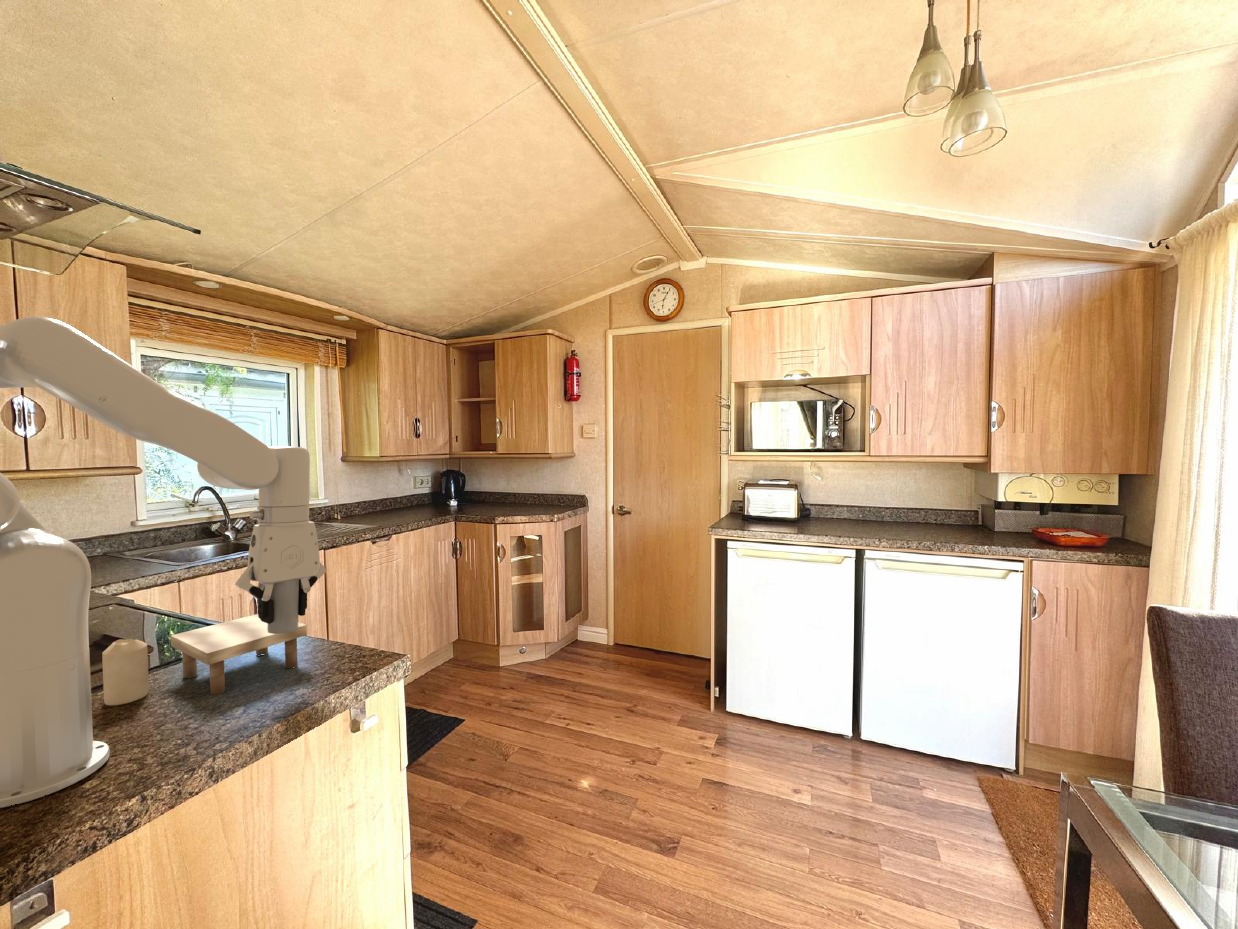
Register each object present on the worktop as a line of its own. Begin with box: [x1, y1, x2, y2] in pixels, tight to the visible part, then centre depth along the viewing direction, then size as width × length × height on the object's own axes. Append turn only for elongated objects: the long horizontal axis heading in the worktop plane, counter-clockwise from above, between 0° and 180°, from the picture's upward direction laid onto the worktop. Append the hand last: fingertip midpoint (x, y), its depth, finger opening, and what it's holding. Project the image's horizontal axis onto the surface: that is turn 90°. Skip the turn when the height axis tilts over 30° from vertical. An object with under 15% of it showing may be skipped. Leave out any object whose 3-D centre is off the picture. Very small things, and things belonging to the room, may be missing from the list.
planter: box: [267, 579, 299, 634], centre depth 90 cm, size 4×4×10 cm
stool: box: [170, 613, 308, 696], centre depth 97 cm, size 16×16×8 cm
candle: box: [101, 638, 150, 706], centre depth 87 cm, size 6×6×10 cm
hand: (283, 617), depth 90 cm, fingers closed on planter, 4 cm apart
